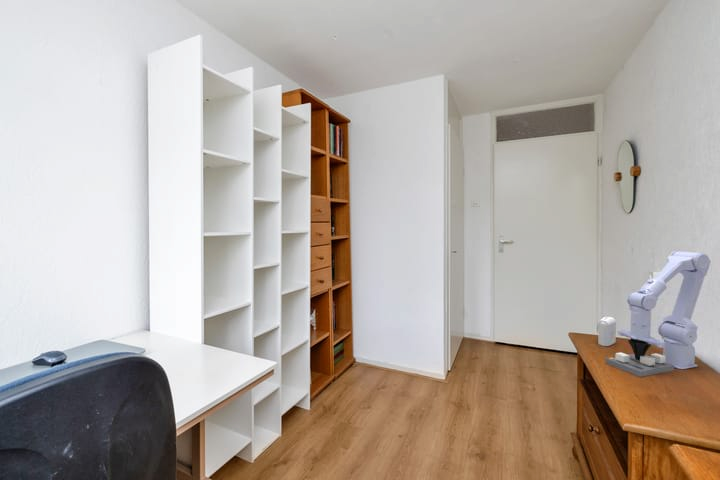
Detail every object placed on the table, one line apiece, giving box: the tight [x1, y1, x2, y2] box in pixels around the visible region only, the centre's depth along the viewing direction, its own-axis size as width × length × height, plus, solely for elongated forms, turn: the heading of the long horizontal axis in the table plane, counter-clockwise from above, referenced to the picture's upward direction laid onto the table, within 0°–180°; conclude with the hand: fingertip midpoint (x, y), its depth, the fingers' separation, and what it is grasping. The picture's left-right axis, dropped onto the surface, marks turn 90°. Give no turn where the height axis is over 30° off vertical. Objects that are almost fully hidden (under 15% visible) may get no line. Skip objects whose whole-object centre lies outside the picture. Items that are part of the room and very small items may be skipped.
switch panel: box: [605, 353, 675, 378], centre depth 123 cm, size 20×12×2 cm, turn 107°
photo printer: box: [597, 316, 617, 347], centre depth 147 cm, size 10×4×12 cm, turn 123°
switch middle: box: [640, 354, 655, 366], centre depth 120 cm, size 3×3×2 cm
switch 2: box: [650, 352, 666, 363], centre depth 122 cm, size 3×3×2 cm
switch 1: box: [614, 352, 630, 362], centre depth 123 cm, size 3×3×2 cm
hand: (639, 359), depth 123 cm, fingers closed
